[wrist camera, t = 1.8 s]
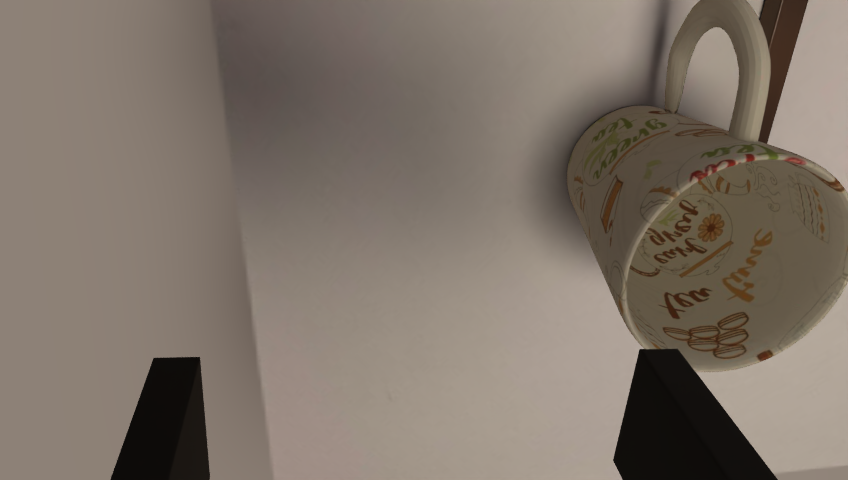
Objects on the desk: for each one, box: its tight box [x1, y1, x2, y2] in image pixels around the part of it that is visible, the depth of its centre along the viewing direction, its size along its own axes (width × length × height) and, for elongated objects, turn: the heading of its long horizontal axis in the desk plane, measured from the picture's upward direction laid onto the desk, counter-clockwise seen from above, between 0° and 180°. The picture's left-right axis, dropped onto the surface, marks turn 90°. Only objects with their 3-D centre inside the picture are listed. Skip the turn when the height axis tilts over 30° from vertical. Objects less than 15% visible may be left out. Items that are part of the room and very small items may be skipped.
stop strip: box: [758, 0, 808, 144], centre depth 32 cm, size 16×1×1 cm, turn 176°
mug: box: [567, 0, 848, 372], centre depth 28 cm, size 8×13×10 cm, turn 179°
